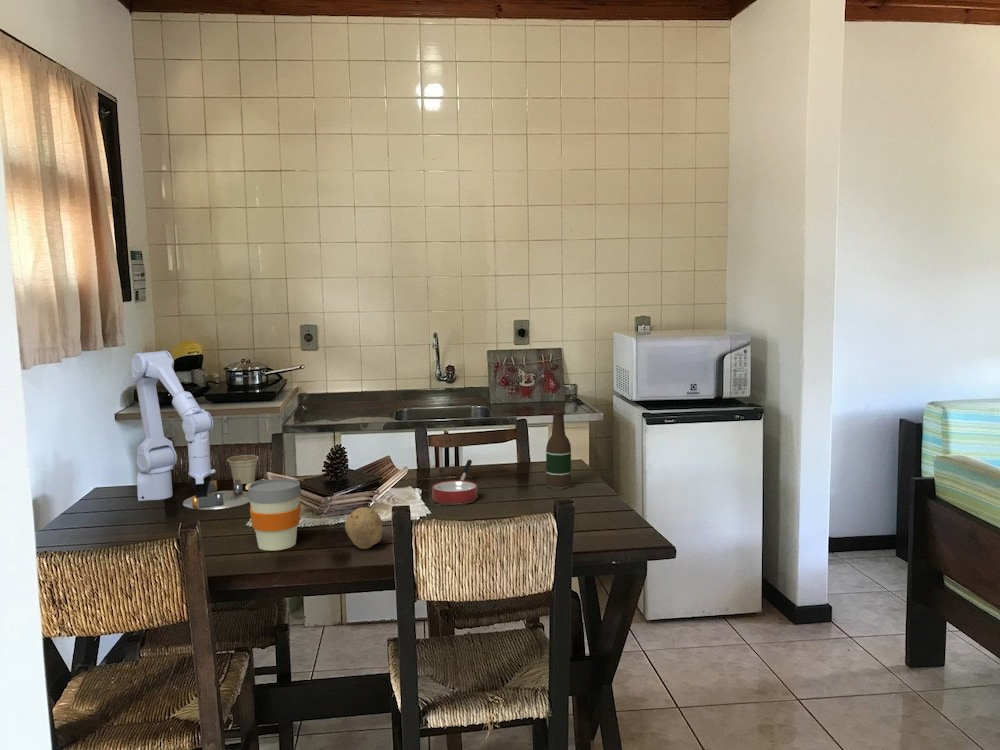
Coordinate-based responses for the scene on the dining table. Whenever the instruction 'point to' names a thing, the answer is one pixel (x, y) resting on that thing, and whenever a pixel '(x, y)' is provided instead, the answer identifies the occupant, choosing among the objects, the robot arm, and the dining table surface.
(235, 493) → the knob right
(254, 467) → the flower pot
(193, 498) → the knob front
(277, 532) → the reusable coffee cup
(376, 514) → the potato
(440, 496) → the frying pan
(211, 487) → the knob left
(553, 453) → the beer bottle
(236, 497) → the plate
